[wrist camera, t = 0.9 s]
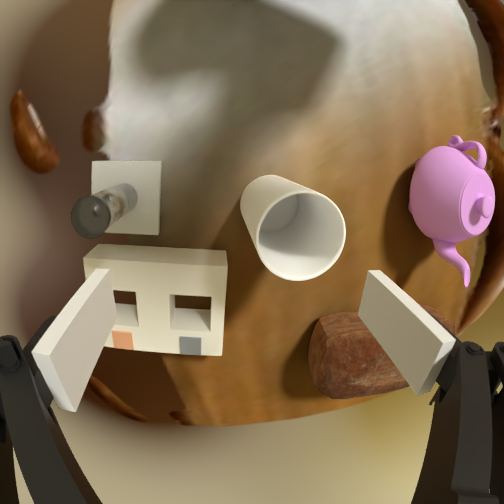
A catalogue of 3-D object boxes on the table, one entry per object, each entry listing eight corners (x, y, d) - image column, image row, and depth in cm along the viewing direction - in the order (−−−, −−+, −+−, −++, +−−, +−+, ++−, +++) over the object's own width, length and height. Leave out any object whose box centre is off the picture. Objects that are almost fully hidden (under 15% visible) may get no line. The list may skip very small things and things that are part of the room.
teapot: (443, 258, 47) (491, 287, 34) (383, 252, 45) (433, 288, 32) (465, 146, 40) (520, 154, 27) (405, 121, 38) (466, 119, 25)
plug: (110, 182, 35) (70, 196, 24) (138, 182, 36) (107, 196, 24) (109, 212, 36) (72, 237, 25) (138, 213, 37) (108, 239, 26)
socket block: (98, 243, 39) (82, 258, 33) (225, 250, 41) (227, 267, 35) (108, 324, 43) (96, 346, 37) (220, 332, 46) (222, 357, 40)
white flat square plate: (94, 161, 35) (92, 161, 34) (162, 160, 36) (161, 161, 35) (95, 230, 38) (92, 232, 37) (159, 233, 39) (158, 235, 38)
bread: (415, 350, 55) (444, 384, 43) (298, 368, 51) (316, 417, 39) (435, 296, 50) (472, 325, 39) (309, 305, 46) (336, 351, 35)
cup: (239, 233, 41) (254, 282, 26) (240, 174, 38) (257, 189, 23) (296, 233, 42) (340, 279, 27) (300, 176, 39) (350, 192, 24)
